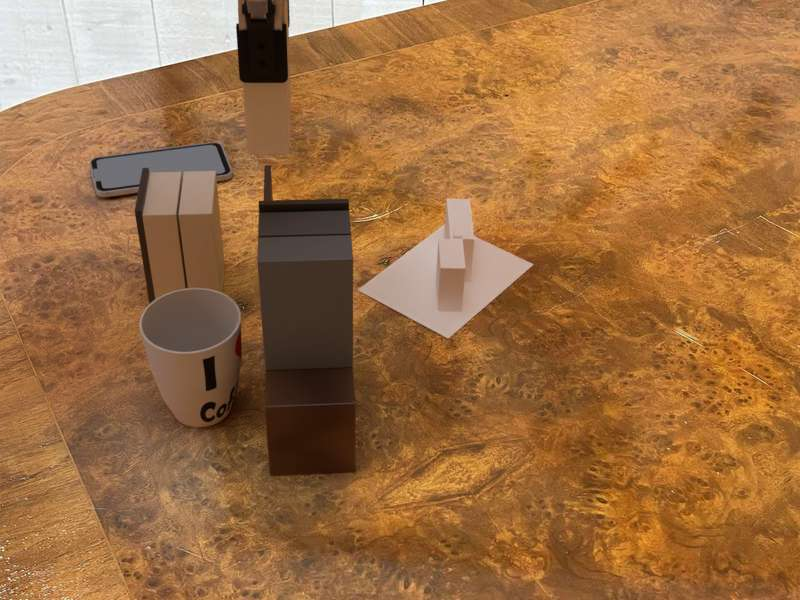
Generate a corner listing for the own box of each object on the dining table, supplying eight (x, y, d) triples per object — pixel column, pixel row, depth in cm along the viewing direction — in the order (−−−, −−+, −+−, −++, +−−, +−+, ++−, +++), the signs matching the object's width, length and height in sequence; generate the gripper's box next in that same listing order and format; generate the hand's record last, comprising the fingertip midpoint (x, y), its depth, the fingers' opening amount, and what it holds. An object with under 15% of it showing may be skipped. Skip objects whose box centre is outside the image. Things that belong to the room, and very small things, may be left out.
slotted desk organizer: (150, 309, 102) (134, 210, 95) (156, 264, 108) (142, 167, 100) (276, 305, 103) (270, 207, 96) (276, 260, 109) (270, 164, 101)
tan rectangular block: (289, 154, 76) (284, 8, 68) (247, 155, 75) (237, 8, 68) (290, 105, 81) (286, -36, 74) (251, 105, 81) (242, -36, 74)
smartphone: (234, 174, 119) (96, 193, 115) (234, 181, 120) (97, 201, 115) (220, 140, 124) (88, 157, 120) (220, 147, 125) (89, 164, 121)
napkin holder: (444, 222, 114) (447, 177, 111) (534, 263, 109) (541, 218, 106) (356, 290, 105) (356, 244, 102) (450, 339, 100) (453, 292, 96)
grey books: (265, 370, 85) (256, 256, 77) (266, 312, 90) (258, 200, 83) (353, 367, 85) (353, 253, 78) (349, 309, 91) (348, 198, 83)
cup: (211, 454, 88) (199, 366, 82) (134, 417, 91) (117, 330, 85) (267, 394, 94) (260, 308, 87) (193, 361, 97) (181, 276, 90)
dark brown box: (269, 475, 87) (264, 407, 82) (270, 373, 96) (266, 305, 91) (355, 472, 87) (355, 403, 82) (348, 370, 97) (348, 303, 91)
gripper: (317, -177, 56) (321, 117, 68) (316, -258, 70) (319, 0, 81) (174, -179, 56) (201, 117, 67) (199, -260, 69) (219, -1, 81)
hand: (265, 51), depth 74 cm, fingers closed on tan rectangular block, 7 cm apart
